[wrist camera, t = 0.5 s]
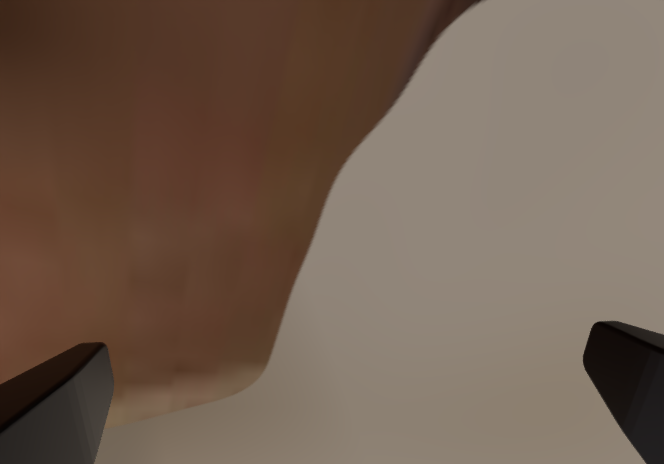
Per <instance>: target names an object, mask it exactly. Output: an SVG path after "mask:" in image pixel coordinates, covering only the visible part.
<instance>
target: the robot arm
mask: <svg viewBox="0 0 664 464" xmlns="http://www.w3.org/2000/svg"><path fill="white" fill-rule="evenodd" d="M583 364H584V367H585V370H586V372H587V374H588V375H589V377H590V379H591V380H592V382H593V384H594V385H595V387H596V389H597V390H598V392H599V394H600V395H601V397H602V399H603V400H604V402H605V404H606V405H607V407H608V409H609V410H610V412H611V414H612V415H613V417H614V419H615V420H616V422H617V423H618V425H619V427H620V428H621V430H622V431H623V433H624V434H625V435H626V437H627V438H628V440H629V441H630V442H631V444H632V445H633V446H634V448H635V449H636V450H637V452H638V453H639V454H640V456H641V457H642V458H643V460H644V461H645V462H646V464H664V335H663V334H659V333H656V332H653V331H649V330H645V329H642V328H639V327H636V326H632V325H628V324H625V323H622V322H618V321H599V322H597V323H595V324H594V325H593V326H592V328H591V331H590V335H589V338H588V341H587V344H586V348H585V351H584V354H583ZM113 391H114V378H113V373H112V368H111V363H110V357H109V352H108V348H107V346H106V344H105V343H102V342H94V343H81V344H78V345H76V346H74V347H72V348H71V349H69V350H67V351H65V352H63V353H61V354H59V355H57V356H55V357H53V358H51V359H49V360H47V361H45V362H43V363H41V364H39V365H37V366H35V367H34V368H32V369H30V370H28V371H26V372H24V373H22V374H20V375H18V376H16V377H14V378H12V379H10V380H8V381H6V382H4V383H2V384H0V464H94V462H95V459H96V456H97V452H98V448H99V445H100V441H101V437H102V433H103V430H104V426H105V422H106V419H107V415H108V411H109V407H110V404H111V400H112V396H113Z"/></svg>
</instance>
